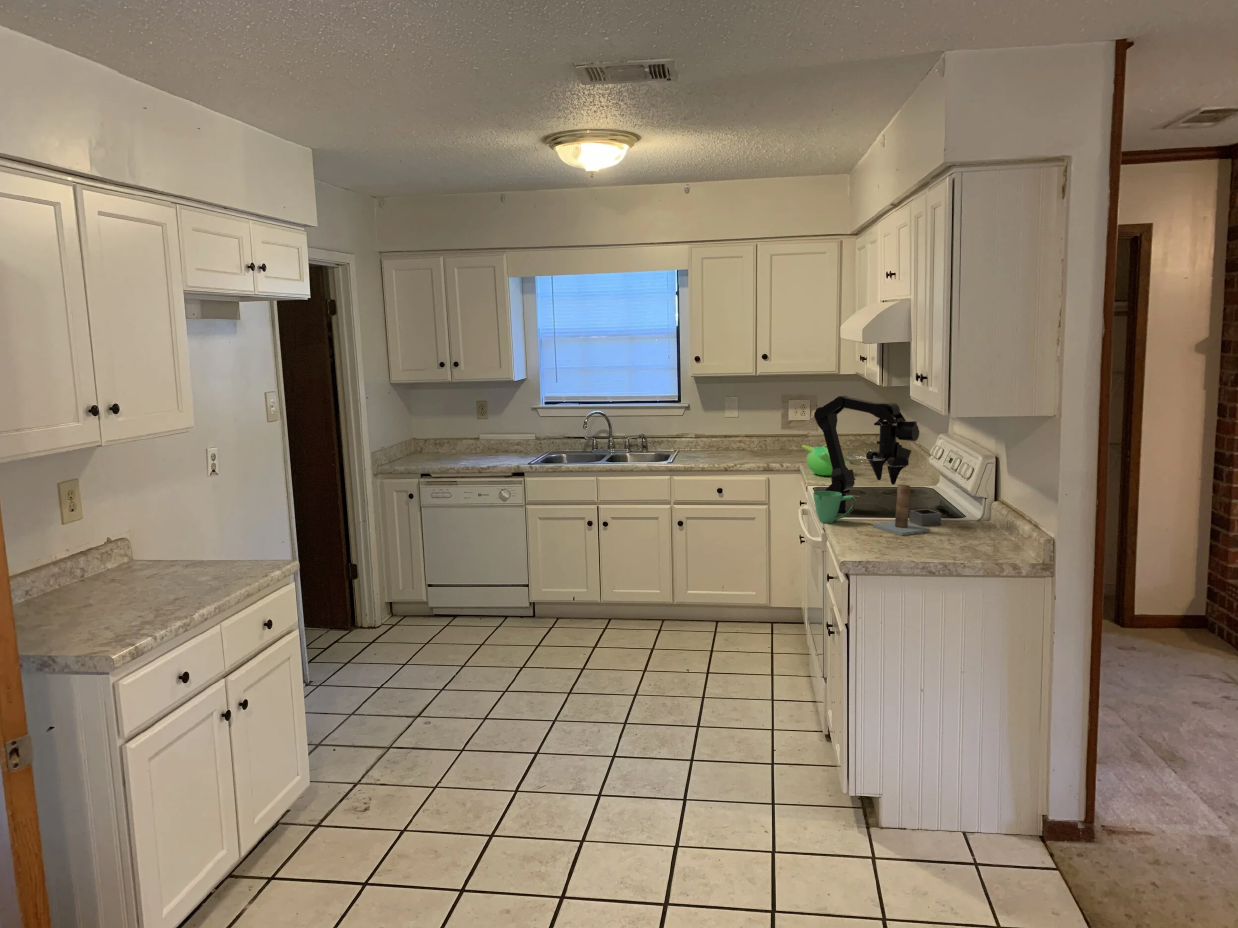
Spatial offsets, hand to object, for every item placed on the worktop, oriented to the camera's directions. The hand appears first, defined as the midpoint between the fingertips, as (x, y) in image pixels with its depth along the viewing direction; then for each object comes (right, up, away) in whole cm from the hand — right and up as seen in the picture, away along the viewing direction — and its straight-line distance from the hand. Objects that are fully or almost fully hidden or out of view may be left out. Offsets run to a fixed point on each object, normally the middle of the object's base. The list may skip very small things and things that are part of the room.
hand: (886, 482), depth 313 cm
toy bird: (-1, +1, +89) cm, 89 cm away
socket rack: (+12, -14, -6) cm, 19 cm away
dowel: (0, -15, -15) cm, 21 cm away
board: (0, -16, -15) cm, 22 cm away
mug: (-19, -14, -3) cm, 24 cm away
